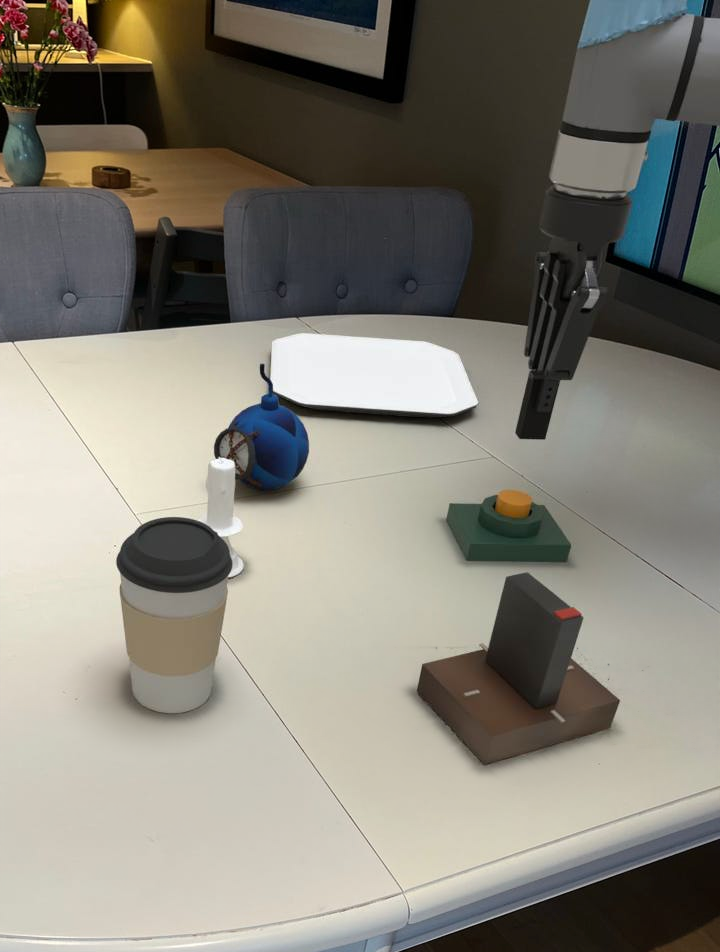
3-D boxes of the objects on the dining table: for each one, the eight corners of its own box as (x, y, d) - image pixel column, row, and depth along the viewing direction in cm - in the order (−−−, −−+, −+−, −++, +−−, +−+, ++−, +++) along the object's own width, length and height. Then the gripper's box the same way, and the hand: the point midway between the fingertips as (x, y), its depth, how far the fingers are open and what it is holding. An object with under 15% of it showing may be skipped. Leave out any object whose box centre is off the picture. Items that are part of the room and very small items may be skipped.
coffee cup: (106, 712, 81) (101, 554, 72) (133, 649, 88) (132, 499, 80) (214, 728, 80) (223, 571, 71) (232, 663, 87) (242, 513, 79)
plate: (271, 343, 157) (272, 330, 156) (452, 356, 157) (454, 342, 156) (268, 415, 134) (269, 399, 132) (481, 430, 134) (484, 414, 132)
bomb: (197, 484, 115) (202, 359, 107) (262, 459, 122) (271, 339, 113) (258, 516, 110) (267, 386, 101) (321, 488, 117) (336, 364, 108)
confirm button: (522, 504, 108) (526, 489, 107) (533, 520, 105) (536, 505, 104) (490, 503, 108) (494, 489, 107) (500, 519, 105) (503, 504, 104)
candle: (187, 576, 99) (190, 466, 92) (196, 549, 103) (200, 443, 96) (239, 582, 98) (247, 472, 92) (246, 555, 103) (254, 449, 96)
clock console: (532, 657, 91) (540, 629, 89) (615, 732, 83) (626, 703, 81) (412, 687, 86) (418, 658, 84) (488, 769, 78) (496, 739, 76)
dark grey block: (484, 660, 85) (506, 573, 80) (505, 655, 86) (528, 569, 81) (535, 709, 80) (562, 620, 75) (557, 703, 81) (585, 614, 75)
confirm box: (539, 521, 113) (548, 490, 111) (566, 562, 106) (576, 529, 103) (445, 520, 112) (452, 488, 110) (466, 561, 105) (473, 528, 102)
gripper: (661, 207, 83) (588, 465, 97) (603, 176, 94) (544, 411, 107) (575, 203, 82) (513, 463, 96) (527, 172, 93) (477, 410, 107)
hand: (530, 436), depth 102 cm, fingers closed
